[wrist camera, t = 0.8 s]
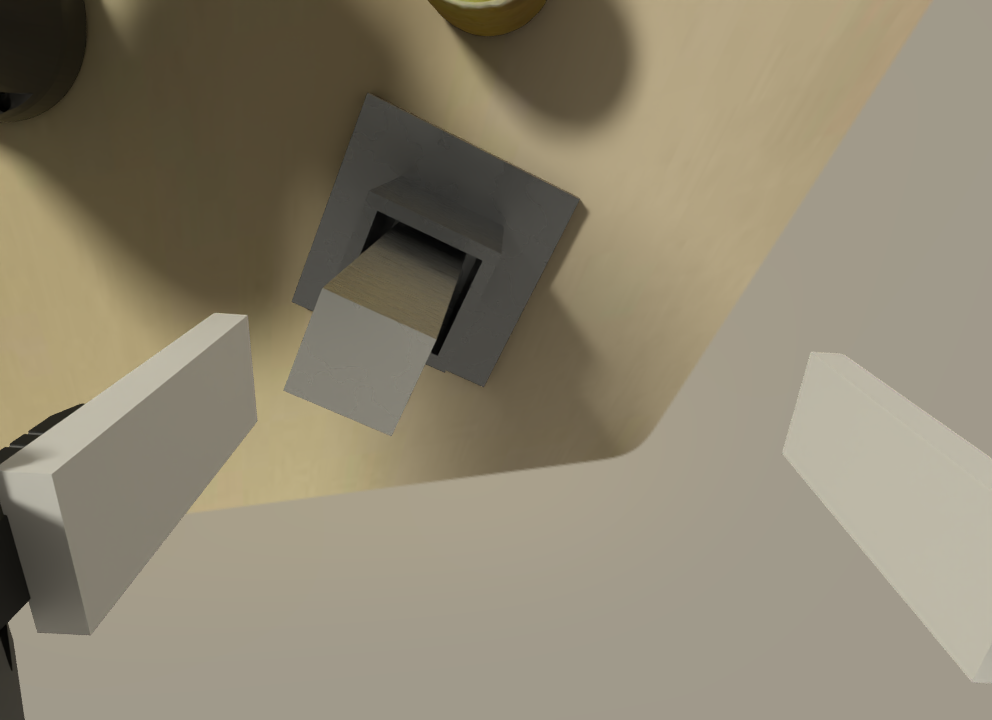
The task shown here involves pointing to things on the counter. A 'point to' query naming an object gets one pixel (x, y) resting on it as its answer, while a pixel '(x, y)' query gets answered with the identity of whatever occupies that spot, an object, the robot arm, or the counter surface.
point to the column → (377, 328)
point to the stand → (442, 226)
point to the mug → (488, 14)
